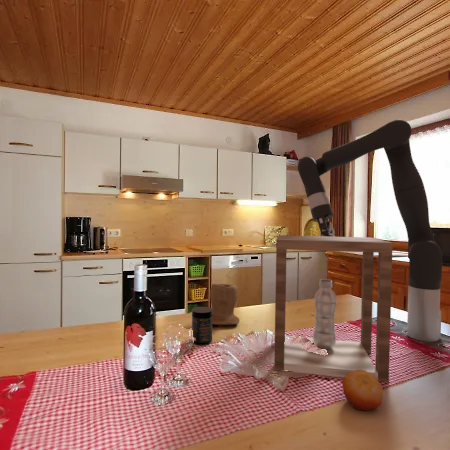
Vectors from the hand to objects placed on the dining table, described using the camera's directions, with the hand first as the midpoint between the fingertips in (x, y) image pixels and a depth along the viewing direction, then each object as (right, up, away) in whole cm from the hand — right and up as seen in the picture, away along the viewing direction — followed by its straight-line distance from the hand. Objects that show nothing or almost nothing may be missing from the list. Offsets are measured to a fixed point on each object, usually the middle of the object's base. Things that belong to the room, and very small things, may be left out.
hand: (332, 248), depth 115 cm
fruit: (-9, -31, -46) cm, 56 cm away
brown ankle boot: (-41, -29, +7) cm, 51 cm away
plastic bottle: (-9, -28, -20) cm, 36 cm away
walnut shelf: (-10, -30, -23) cm, 39 cm away
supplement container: (-46, -29, -12) cm, 56 cm away
